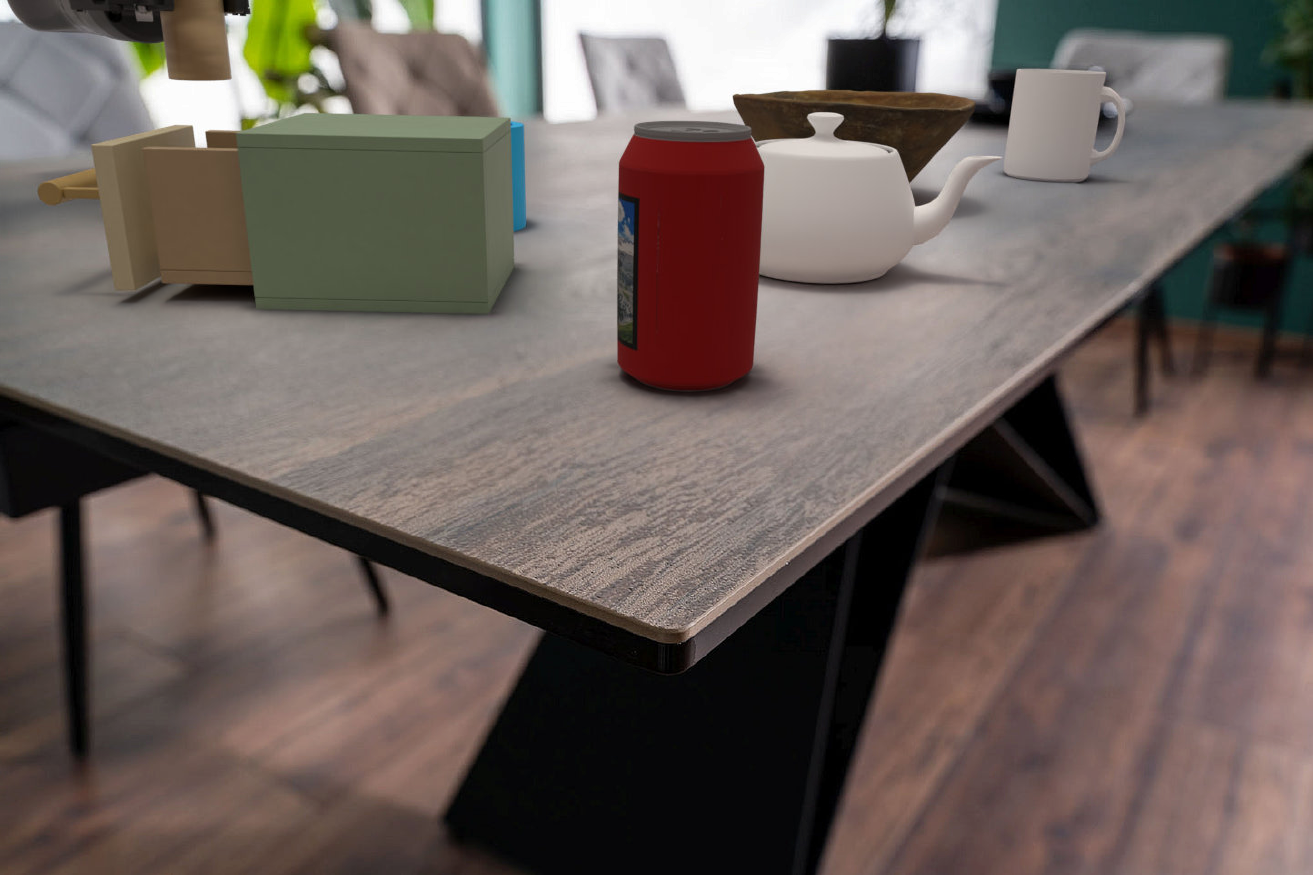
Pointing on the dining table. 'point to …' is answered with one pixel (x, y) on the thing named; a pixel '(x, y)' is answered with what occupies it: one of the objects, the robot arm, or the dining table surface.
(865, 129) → the bowl
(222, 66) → the pepper mill
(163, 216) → the drawer
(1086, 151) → the mug
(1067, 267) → the dining table surface
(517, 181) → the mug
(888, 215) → the teapot
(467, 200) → the cabinet
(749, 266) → the beverage can
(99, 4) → the robot arm
